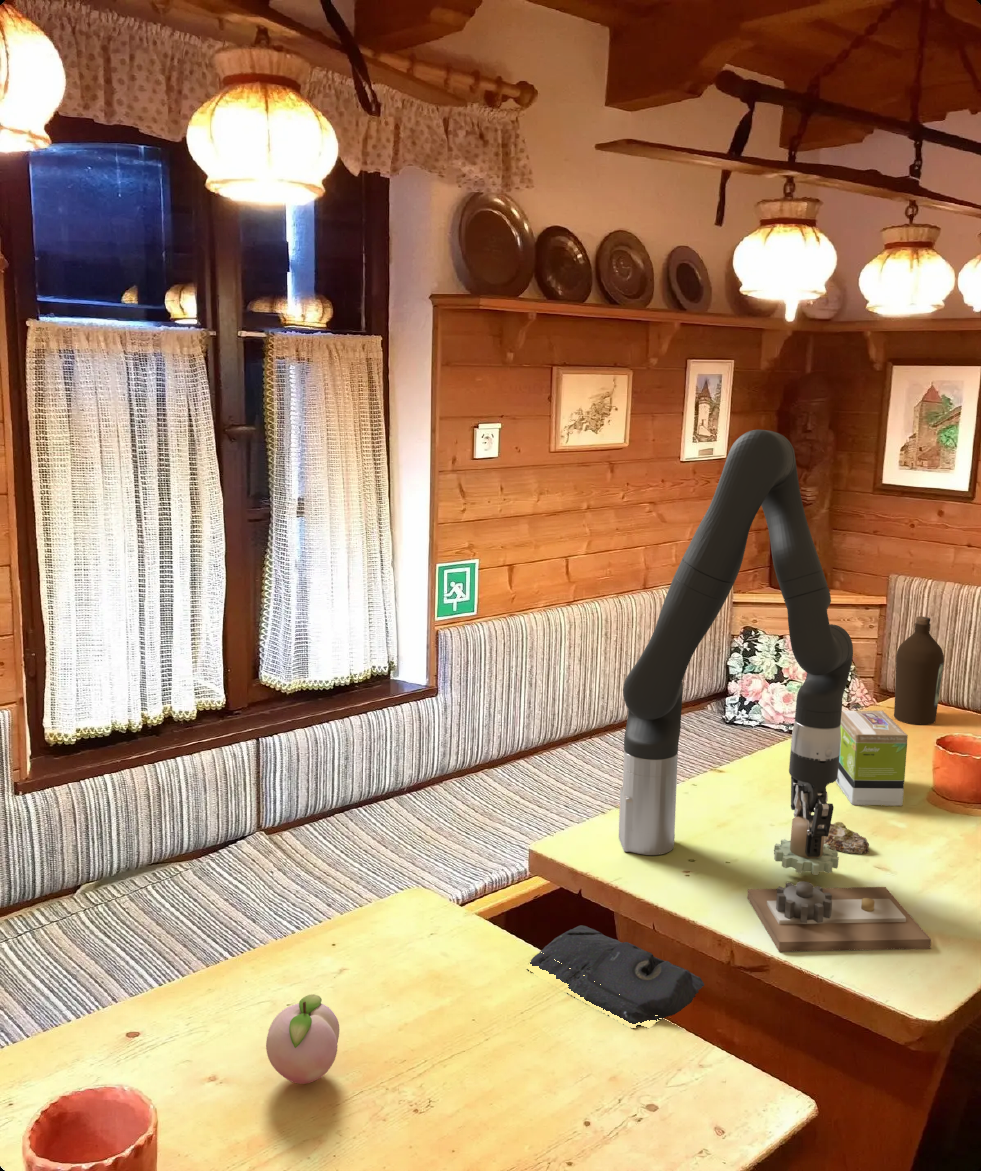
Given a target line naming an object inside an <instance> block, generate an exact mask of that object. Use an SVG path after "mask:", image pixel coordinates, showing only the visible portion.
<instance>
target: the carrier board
mask: <svg viewBox="0 0 981 1171" xmlns="http://www.w3.org/2000/svg"><path fill="white" fill-rule="evenodd" d="M784 886H785V887H783V886H778V887H777V888H749V889H748V888H747V897H746V898H747V900H748V902H749V903H750V905H751V907H752V908H753V910H754V912H755V913H756V915H757V917H758V919H759V921H760V922H761V924H762V926H763V927H764V929H765V930H766V932H767V934H768V936H769V937H770V939H771V941H772V942H773V944H774V946H775V947H776V949H777V951H778V953H781V952H784V953H785V952H786V953H787V952H826V951H827V952H829V951H831V952H832V951H833V952H834V951H836V952H837V951H840V952H841V951H883V950H884V951H885V950H888V951H889V950H890V951H891V950H931V943H932V938H931V937H930V936H929V935H928V934H927V933H926V931H925V930H924V929H923V928H922V927H921V925H920V924H918V923H917V921H916V920H915V919H914V918H913V916H911V914H909V912H908V911H907V909H905V908H904V906H903V905H902V904H901V903H900V902H899V900H898V899H897V898H896V897H895V896H894V895H893V894H892V893H891V892H890V890H889V889H888V888H887V886H869V887H868V886H866V887H865V886H864V887H863V886H862V887H821V886H820V885H816V886H814V884H812V883H811V882H808V881H803V880H802V881H798V882H796V884H793V883H792V882H786V883H785V885H784Z"/></svg>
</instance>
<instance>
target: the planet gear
mask: <svg viewBox="0 0 981 1171" xmlns="http://www.w3.org/2000/svg"><path fill="white" fill-rule="evenodd" d="M812 822H813V821H812ZM818 828H819V825H818ZM806 837H807V821H806V820H805V819H804V818H803V816H798V817H793V818H792V820H791V832H790V840H787V839H786V838H784V839H781V840H780V843H775V844H774V847H773V848H774V849H773V856H774V857H773V860H774V861H775V862H781V867H783V868H784V869H788V868H792V869H795V873H798V874H802V873H804V872H811V874H812V875H815V876H817V875H819V874H820V872H821V873H822V872H823V873H826V874H831V873H833V869H836V870H837V869H838V866H839V860H840V859H839V858H840V857H839V856H838V855H839V852H838V850H832V849H829V847H830V846H829V845H827V844H824V837H825V836H822V839H821V850H820V856H818V857H808V856H807V855H806V853H805V849H806Z"/></svg>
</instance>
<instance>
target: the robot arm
mask: <svg viewBox="0 0 981 1171" xmlns="http://www.w3.org/2000/svg"><path fill="white" fill-rule="evenodd" d="M718 480H719V481H718V483H717V486H716V488H715V491H714V495H713V497H712V500H711V502H710V504H709V506H708V509H707V511H706V512H705V514H704V516H703V518H702V520H701V521H700V523H699V525H698V527H697V528H696V531H695V532H694V535H693V536H692V539H691V540H690V542H689V544H688V547H687V549H685V550H686V551H685V552H684V554H683V556H682V558H681V560H680V563H679V565H678V567H677V569H676V572H675V573H674V575H673V578H672V581H671V583H670V584H669V588H668V590H667V593H666V596H665V598H664V601H663V603H662V607H661V609H660V612H659V615H658V617H657V621H656V625H655V628H654V630H653V632H652V634H651V636H650V639H649V641H648V643H647V645H646V646H645V648H644V650H643V652H642V653H641V655H640V657H639V658H638V660H637V662H636V663H635V664H634V666H633V667H632V668H631V670H630V671H629V672H628V674H627V676H626V678H625V680H624V682H623V689H622V691H623V692H622V694H623V699H624V700H623V701H624V704H625V706H626V708H627V721H626V727H625V732H624V736H623V738H624V739H623V766H622V767H623V768H622V770H623V772H622V786H621V787H620V788H619V812H618V813H619V815H618V818H619V819H618V839H619V842H620V844H621V847H622V849H623V851H624V852H625V853H626V852H629V853H635V854H638V855H642V856H643V855H646V856H659V855H664V854H666V853H670V852H671V851H672V850H673V849H674V846H675V838H676V833H675V832H676V830H675V829H676V810H677V808H676V805H677V783H678V782H677V781H678V780H677V779H678V761H679V760H678V757H679V742H680V741H679V740H680V734H681V726H682V707H683V706H682V705H683V690H684V689H683V688H684V687H683V686H684V685H683V680H684V677H685V674H686V672H687V670H688V666H689V664H690V662H691V660H692V658H693V655H694V653H695V651H696V649H697V648H698V647H699V644H700V643H701V641H702V640H703V638H705V636H706V634H707V632H708V631H709V630H710V628H711V626H712V625H713V623H714V622H715V620H716V618H717V617H718V615H719V613H720V611H721V610H722V607H723V606H724V604H725V603H726V601H727V598H728V597H729V594H730V592H731V590H732V588H733V586H734V584H735V582H736V580H737V579H738V578H737V577H738V575H739V574H740V571H741V570H740V569H741V567H742V565H743V564H742V563H743V562H744V561H743V560H744V556H745V552H746V548H747V542H748V538H749V534H750V531H751V528H752V527H751V526H752V525H753V522H754V520H755V518H756V516H757V514H758V512H759V510H760V508H761V509H762V511H763V513H764V514H763V515H764V517H765V520H766V521H765V522H766V525H767V529H768V530H767V531H768V534H769V543H770V550H771V557H772V563H773V568H774V572H775V573H774V574H775V576H776V579H777V583H778V586H779V589H780V592H781V595H782V599H783V601H784V603H785V604H784V605H785V606H786V610H787V611H786V612H787V625H788V634H789V640H790V647H791V650H792V654H793V657H794V658H795V661H796V662H797V664H798V665H799V667H800V669H802V670H803V671H804V672H806V676H805V680H804V682H803V683H802V685H801V686H800V687H799V688H798V690H797V694H796V695H797V696H796V701H795V702H796V703H795V711H794V712H795V715H794V722H793V727H792V733H791V742H790V755H789V763H788V764H789V767H788V773H789V775H790V780H791V781H790V809H791V811H793V818H795V817H798V816H803V818H804V819H805V820H806V821H807V837H806V849H805V853H806V855H807V856H808V857H818V856H820V850H821V839H822V836H828V835H829V830H830V825H831V824H832V818H833V813H834V808H835V807H834V804H833V803H828V802H829V798H828V797H829V796H828V791H827V786H828V785H831V784H833V783H835V782H836V780H837V777H838V767H839V756H840V744H841V714H842V711H843V696H844V693H845V691H846V687H847V683H848V679H849V676H850V672H851V669H852V664H853V658H854V657H853V656H854V645H853V640H852V638H851V635H850V634H849V632H848V631H846V629H844V627H842V626H841V625H836V624H831V623H830V619H829V615H828V608H829V607H830V605H831V603H832V598H831V593H830V592H831V591H830V588H829V587H828V582H827V580H826V576H825V573H824V570H823V567H822V564H821V561H820V558H819V554H818V552H817V549H816V546H815V543H814V540H813V537H812V534H811V530H810V528H809V524H808V521H807V516H806V512H805V508H804V505H803V498H802V494H801V489H800V488H801V487H800V484H799V483H800V482H799V476H798V468H797V461H796V455H795V449H794V447H793V445H792V443H791V442H790V440H789V439H788V438H787V437H785V436H784V435H783V434H781V433H779V432H776V431H773V430H766V429H753V430H748V431H746V432H745V433H743V434H742V435H740V436H739V437H738V438H736V440H735V441H734V442H733V443H732V445H731V447H730V448H729V451H728V454H727V456H726V460H725V462H724V465H723V469H722V471H721V475H720V477H719V479H718ZM812 813H813V814H812ZM812 821H813V822H812ZM818 825H819V828H818Z"/></svg>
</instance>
